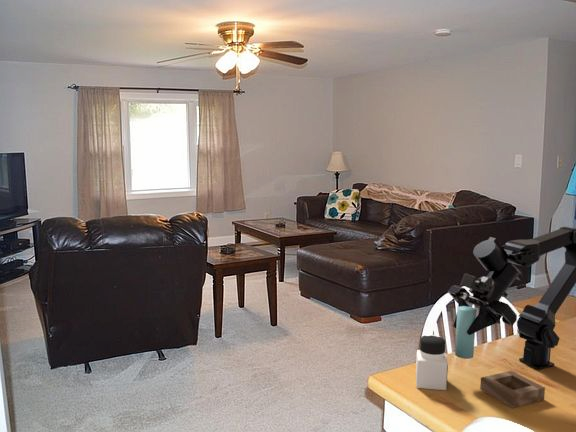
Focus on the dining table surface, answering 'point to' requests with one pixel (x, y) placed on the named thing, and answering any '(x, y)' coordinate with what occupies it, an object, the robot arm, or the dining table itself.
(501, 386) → the hole block
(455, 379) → the dining table surface
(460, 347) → the peg
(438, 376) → the medicine bottle
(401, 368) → the dining table surface
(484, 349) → the dining table surface
